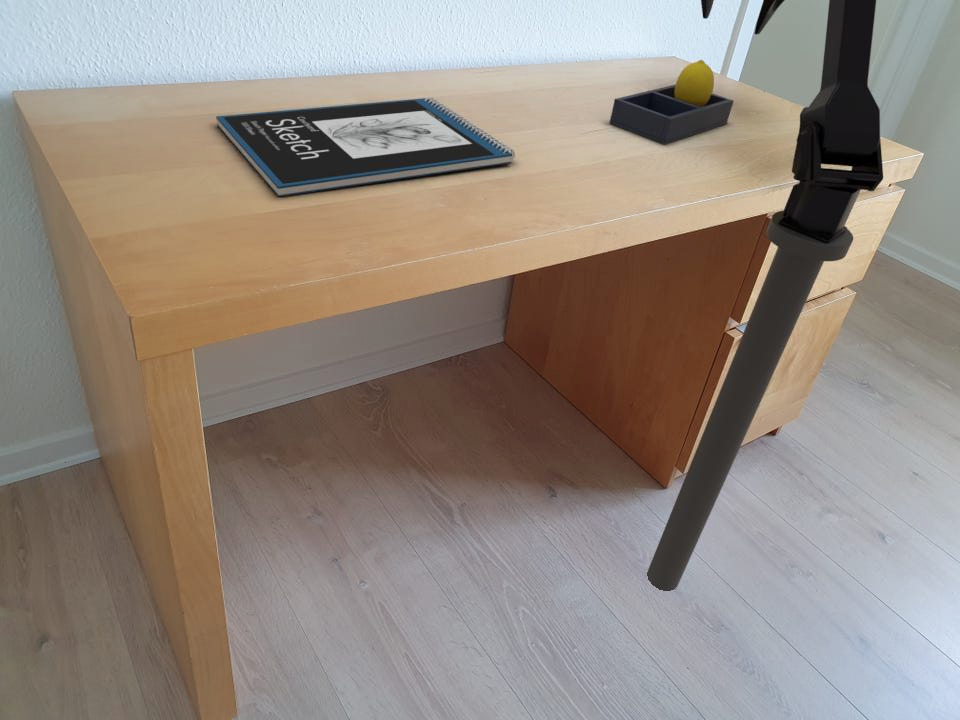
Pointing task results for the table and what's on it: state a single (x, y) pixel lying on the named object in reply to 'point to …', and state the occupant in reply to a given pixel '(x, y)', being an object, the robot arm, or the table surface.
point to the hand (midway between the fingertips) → (730, 26)
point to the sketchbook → (359, 144)
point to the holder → (668, 115)
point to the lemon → (695, 84)
